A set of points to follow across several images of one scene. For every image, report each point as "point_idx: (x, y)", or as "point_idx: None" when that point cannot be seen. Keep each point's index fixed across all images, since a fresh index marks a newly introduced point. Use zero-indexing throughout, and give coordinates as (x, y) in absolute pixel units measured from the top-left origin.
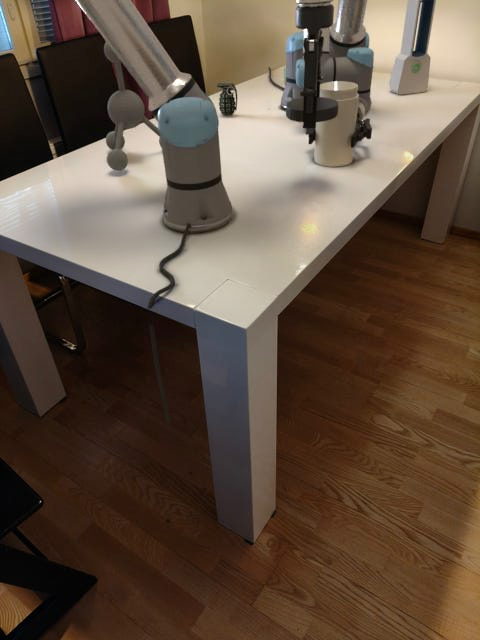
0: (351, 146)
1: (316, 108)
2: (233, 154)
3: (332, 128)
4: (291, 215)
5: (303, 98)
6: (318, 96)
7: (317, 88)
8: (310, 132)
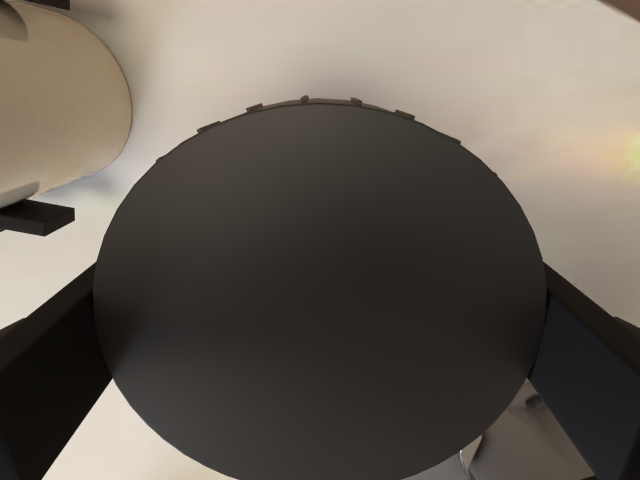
0: (66, 5)
1: (561, 303)
2: (95, 429)
3: (31, 121)
4: (558, 213)
5: (157, 407)
6: (88, 304)
7: (46, 360)
8: (25, 230)
